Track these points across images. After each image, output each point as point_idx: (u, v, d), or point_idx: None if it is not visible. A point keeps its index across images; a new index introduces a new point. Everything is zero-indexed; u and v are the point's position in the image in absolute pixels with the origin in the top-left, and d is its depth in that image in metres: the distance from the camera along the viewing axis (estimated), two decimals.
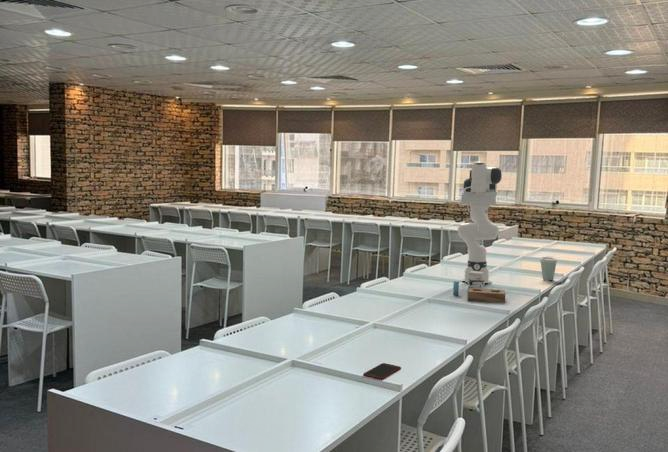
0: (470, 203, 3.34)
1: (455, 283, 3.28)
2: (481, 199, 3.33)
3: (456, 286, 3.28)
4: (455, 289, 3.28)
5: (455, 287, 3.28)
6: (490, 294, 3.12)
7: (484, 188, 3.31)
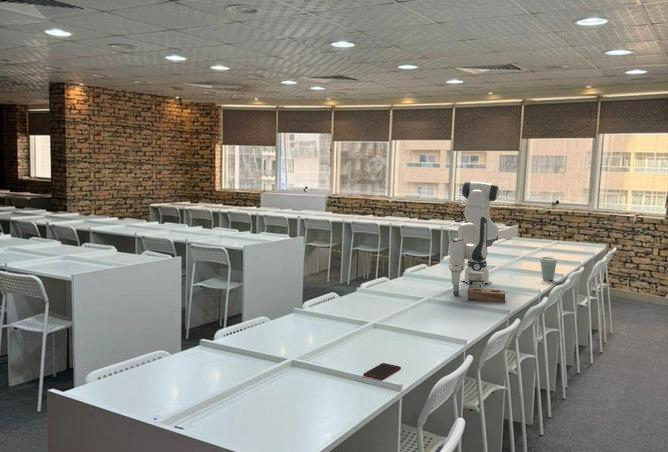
0: None
1: None
2: None
3: None
4: None
5: None
6: (490, 294, 3.12)
7: None
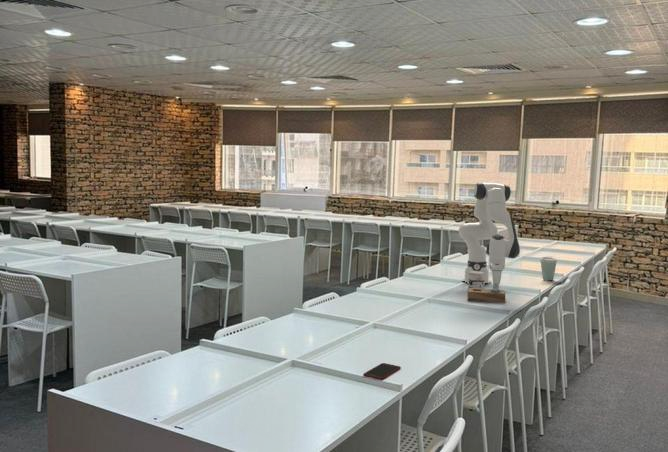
0: None
1: None
2: None
3: None
4: None
5: None
6: (490, 294, 3.12)
7: None
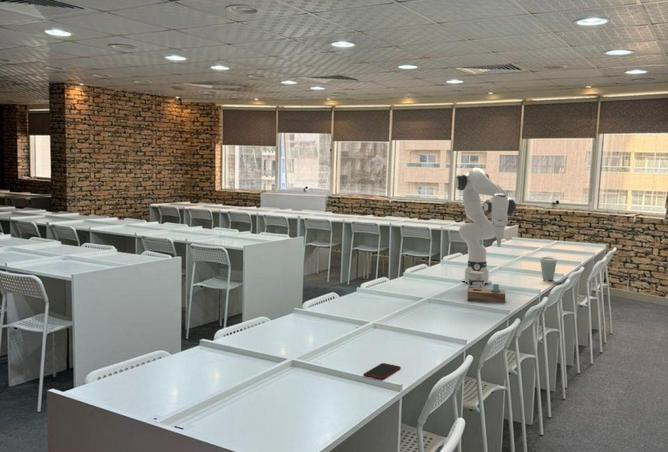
0: None
1: (495, 286, 3.16)
2: None
3: (496, 289, 3.16)
4: None
5: (495, 290, 3.16)
6: (490, 294, 3.12)
7: None
